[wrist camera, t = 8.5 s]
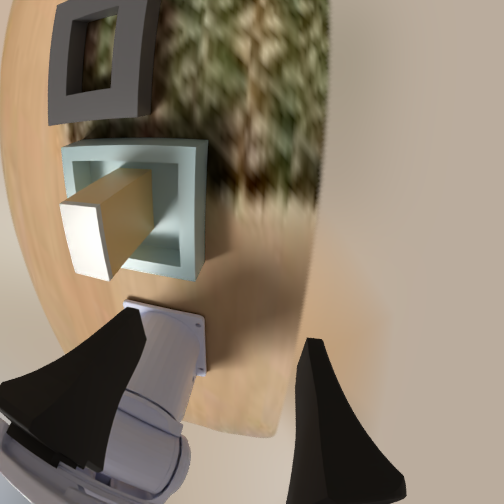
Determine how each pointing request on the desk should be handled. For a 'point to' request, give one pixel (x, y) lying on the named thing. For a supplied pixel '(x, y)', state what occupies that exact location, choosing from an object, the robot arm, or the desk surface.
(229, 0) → the desk surface
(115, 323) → the robot arm
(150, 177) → the white and tan block
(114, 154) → the parts tray
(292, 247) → the desk surface
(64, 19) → the dark gray rectangular frame
